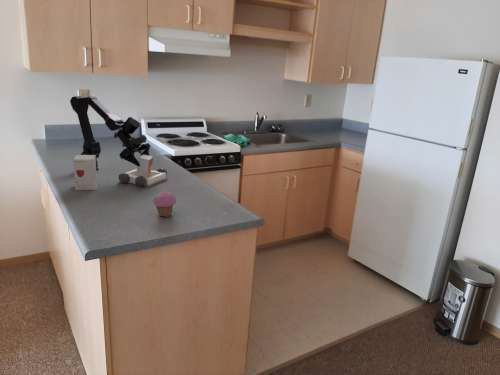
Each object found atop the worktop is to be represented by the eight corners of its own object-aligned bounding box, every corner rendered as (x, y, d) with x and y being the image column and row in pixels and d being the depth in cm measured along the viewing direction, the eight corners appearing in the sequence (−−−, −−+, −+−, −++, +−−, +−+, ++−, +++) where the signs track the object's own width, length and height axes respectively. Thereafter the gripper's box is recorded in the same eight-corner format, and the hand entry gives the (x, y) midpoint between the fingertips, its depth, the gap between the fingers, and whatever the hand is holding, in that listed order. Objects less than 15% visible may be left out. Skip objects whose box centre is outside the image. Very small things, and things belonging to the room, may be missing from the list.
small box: (146, 179, 202) (149, 160, 199) (135, 177, 202) (138, 157, 198) (150, 175, 209) (153, 156, 206) (140, 173, 209) (143, 153, 206)
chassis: (145, 188, 195) (145, 178, 193) (117, 182, 201) (116, 172, 199) (168, 178, 212) (168, 169, 211) (142, 173, 218) (142, 164, 217)
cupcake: (177, 212, 167) (177, 189, 164) (174, 220, 159) (174, 196, 156) (155, 211, 167) (155, 188, 164) (151, 219, 159) (151, 195, 156)
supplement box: (75, 190, 185) (72, 159, 181) (77, 184, 193) (75, 154, 189) (96, 190, 188) (94, 159, 183) (97, 184, 196) (95, 154, 191)
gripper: (123, 132, 192) (143, 158, 191) (147, 127, 208) (165, 151, 208) (111, 146, 197) (129, 171, 197) (135, 140, 214) (152, 163, 213)
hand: (145, 164), depth 203 cm, fingers closed on small box, 9 cm apart
